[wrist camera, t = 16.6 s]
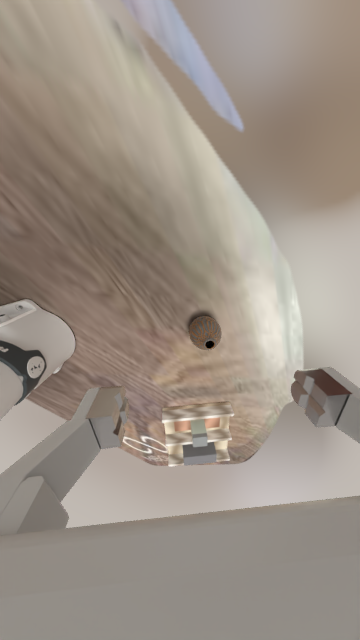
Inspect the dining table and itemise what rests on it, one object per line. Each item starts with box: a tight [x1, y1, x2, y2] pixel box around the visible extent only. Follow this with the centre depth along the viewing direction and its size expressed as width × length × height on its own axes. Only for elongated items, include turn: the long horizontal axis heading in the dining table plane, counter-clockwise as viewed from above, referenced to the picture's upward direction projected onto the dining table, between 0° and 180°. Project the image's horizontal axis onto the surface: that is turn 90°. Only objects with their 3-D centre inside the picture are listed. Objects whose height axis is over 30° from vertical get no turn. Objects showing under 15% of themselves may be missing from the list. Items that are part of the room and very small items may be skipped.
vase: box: [189, 316, 221, 350], centre depth 38 cm, size 7×7×9 cm
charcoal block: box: [183, 442, 217, 465], centre depth 56 cm, size 10×4×5 cm, turn 93°
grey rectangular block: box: [190, 419, 207, 447], centre depth 51 cm, size 4×4×6 cm
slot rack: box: [162, 402, 234, 467], centre depth 55 cm, size 20×22×4 cm
